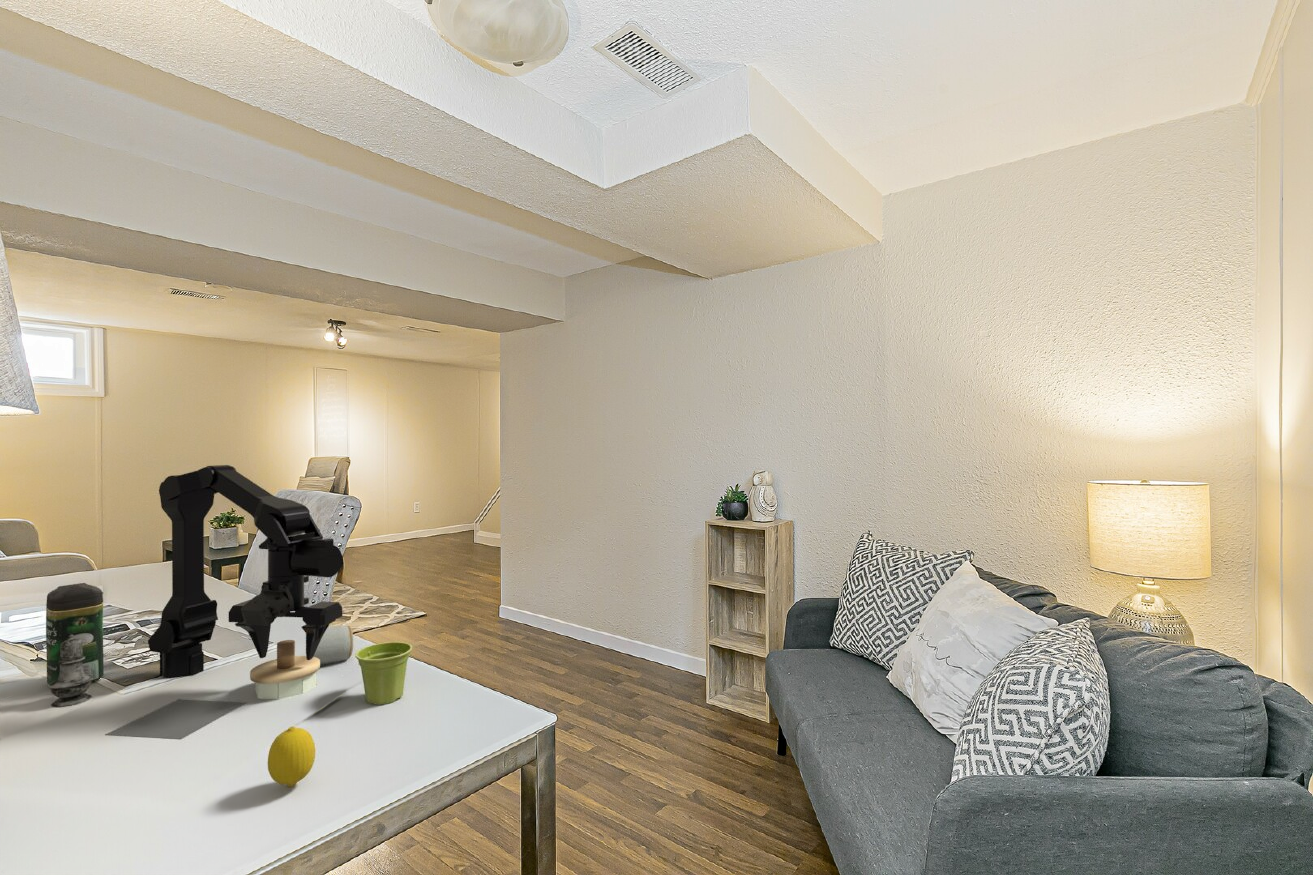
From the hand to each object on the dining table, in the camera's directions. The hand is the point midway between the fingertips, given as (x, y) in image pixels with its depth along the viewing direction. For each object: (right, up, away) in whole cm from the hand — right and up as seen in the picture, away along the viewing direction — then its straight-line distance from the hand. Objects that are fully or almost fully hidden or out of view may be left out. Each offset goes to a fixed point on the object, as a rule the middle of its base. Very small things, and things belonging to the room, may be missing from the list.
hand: (286, 658), depth 113 cm
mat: (-10, -6, -12) cm, 17 cm away
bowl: (0, -6, 0) cm, 6 cm away
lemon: (+19, -7, -30) cm, 36 cm away
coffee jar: (-44, -7, +6) cm, 45 cm away
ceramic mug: (-2, -7, +17) cm, 18 cm away
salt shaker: (-36, -7, -3) cm, 37 cm away
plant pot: (+19, -7, -2) cm, 20 cm away
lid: (0, -2, 0) cm, 2 cm away
